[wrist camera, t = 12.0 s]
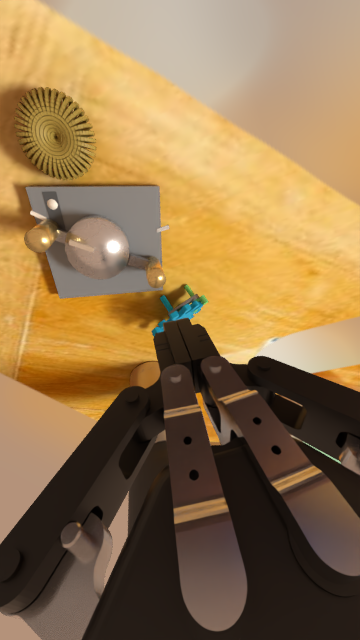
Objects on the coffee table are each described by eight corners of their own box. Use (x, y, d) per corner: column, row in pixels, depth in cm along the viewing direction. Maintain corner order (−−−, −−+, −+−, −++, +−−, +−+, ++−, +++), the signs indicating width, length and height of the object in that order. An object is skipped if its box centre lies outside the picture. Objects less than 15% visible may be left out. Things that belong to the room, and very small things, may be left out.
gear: (161, 342, 45) (149, 339, 35) (145, 317, 46) (129, 307, 36) (209, 310, 45) (211, 297, 35) (192, 286, 46) (189, 267, 36)
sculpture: (92, 189, 27) (13, 170, 25) (95, 186, 31) (25, 169, 28) (96, 99, 23) (1, 67, 21) (99, 107, 27) (17, 80, 24)
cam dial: (169, 241, 34) (176, 254, 30) (150, 288, 38) (154, 307, 33) (44, 192, 28) (28, 198, 23) (36, 254, 32) (20, 271, 27)
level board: (168, 285, 40) (170, 289, 39) (59, 294, 37) (56, 299, 36) (166, 185, 32) (168, 186, 31) (25, 186, 29) (21, 187, 28)
